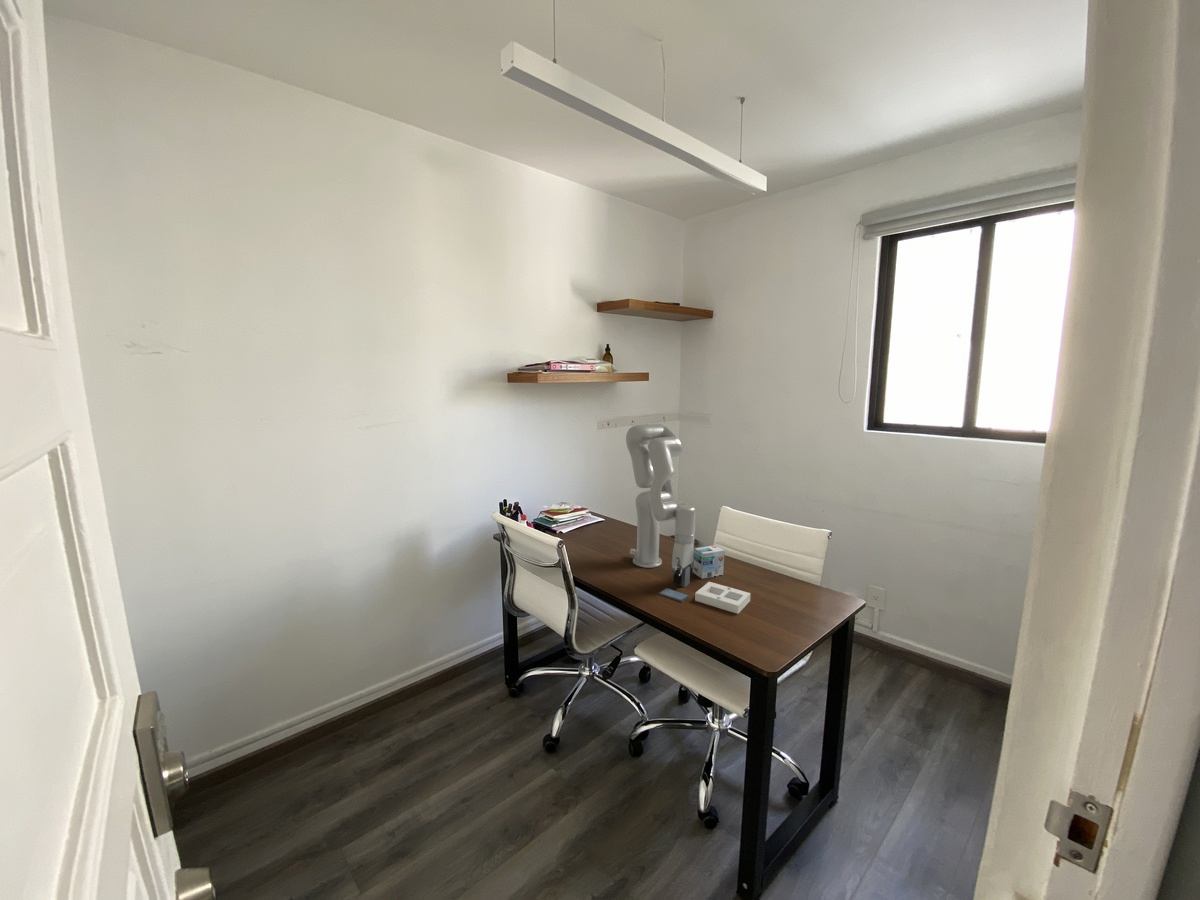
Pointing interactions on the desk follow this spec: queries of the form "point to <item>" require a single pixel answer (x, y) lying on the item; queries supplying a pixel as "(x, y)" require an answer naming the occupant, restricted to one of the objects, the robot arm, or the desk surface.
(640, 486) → the robot arm
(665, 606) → the desk surface
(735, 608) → the outlet plate
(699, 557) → the light bulb box
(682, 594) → the phone
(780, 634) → the desk surface
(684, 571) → the charger
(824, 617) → the desk surface
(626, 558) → the desk surface
